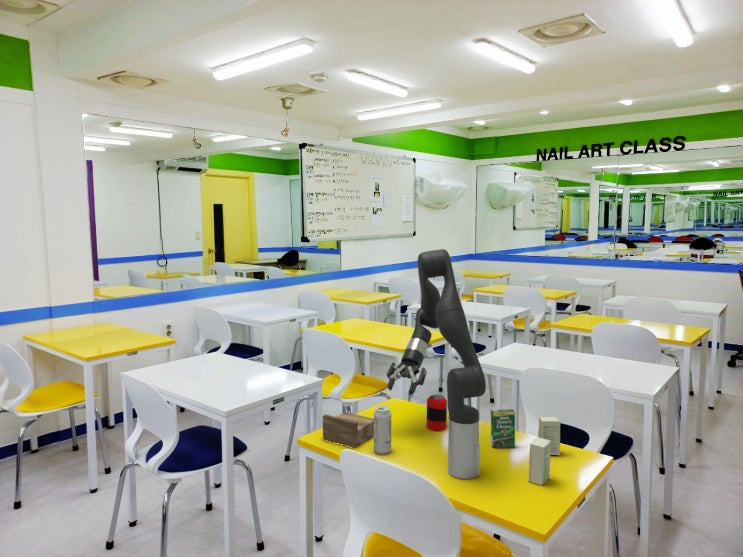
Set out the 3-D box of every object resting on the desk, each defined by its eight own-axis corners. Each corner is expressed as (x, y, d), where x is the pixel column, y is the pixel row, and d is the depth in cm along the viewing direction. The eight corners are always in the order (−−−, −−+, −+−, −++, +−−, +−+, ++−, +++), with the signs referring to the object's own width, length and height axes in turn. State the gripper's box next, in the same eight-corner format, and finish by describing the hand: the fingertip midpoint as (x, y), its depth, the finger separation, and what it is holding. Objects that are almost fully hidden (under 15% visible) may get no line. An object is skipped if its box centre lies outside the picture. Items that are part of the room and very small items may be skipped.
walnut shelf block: (345, 427, 196) (345, 404, 195) (376, 435, 189) (376, 411, 188) (322, 440, 184) (322, 415, 183) (355, 449, 177) (355, 423, 176)
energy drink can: (389, 456, 172) (390, 412, 170) (372, 454, 173) (372, 411, 171) (392, 448, 177) (392, 406, 176) (375, 446, 179) (375, 405, 177)
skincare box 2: (536, 474, 159) (537, 436, 158) (550, 478, 156) (551, 440, 155) (527, 482, 154) (529, 443, 153) (542, 486, 152) (543, 447, 150)
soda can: (422, 426, 198) (423, 395, 196) (438, 422, 201) (439, 392, 200) (434, 432, 191) (434, 401, 190) (450, 429, 194) (451, 398, 193)
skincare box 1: (556, 451, 176) (558, 416, 174) (560, 456, 171) (561, 421, 170) (537, 450, 176) (538, 415, 175) (540, 455, 172) (541, 420, 171)
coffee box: (491, 448, 178) (492, 411, 176) (489, 445, 180) (490, 408, 179) (515, 448, 178) (516, 411, 176) (512, 445, 181) (513, 408, 179)
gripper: (394, 345, 193) (378, 382, 184) (429, 350, 185) (414, 389, 177) (401, 356, 198) (386, 393, 190) (435, 361, 190) (420, 400, 182)
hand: (399, 391), depth 183 cm, fingers open, 8 cm apart
